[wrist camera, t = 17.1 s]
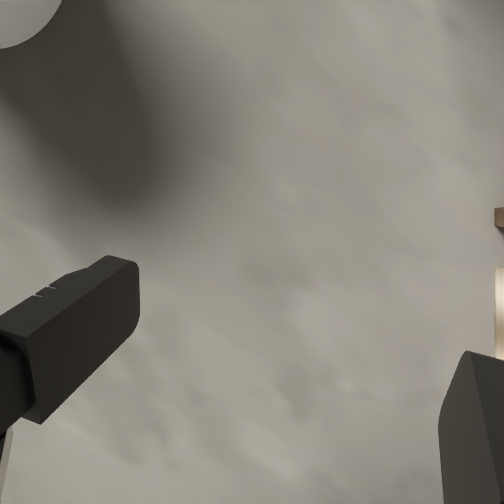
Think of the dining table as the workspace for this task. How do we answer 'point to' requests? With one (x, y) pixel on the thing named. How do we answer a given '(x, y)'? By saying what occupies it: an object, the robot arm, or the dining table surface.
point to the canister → (24, 19)
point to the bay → (499, 296)
